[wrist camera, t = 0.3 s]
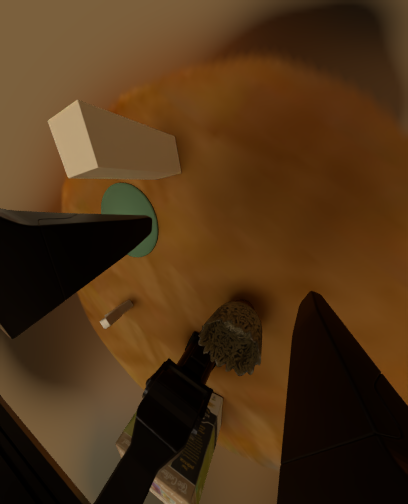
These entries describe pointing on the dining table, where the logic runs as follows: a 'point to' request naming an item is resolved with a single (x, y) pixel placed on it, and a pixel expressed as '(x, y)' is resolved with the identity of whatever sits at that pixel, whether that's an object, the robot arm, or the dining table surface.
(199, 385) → the robot arm
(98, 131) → the cream block
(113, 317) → the lighter
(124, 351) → the dining table surface
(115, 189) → the green mat
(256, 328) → the dark grey rounded piece
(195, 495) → the tea box
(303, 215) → the dining table surface
